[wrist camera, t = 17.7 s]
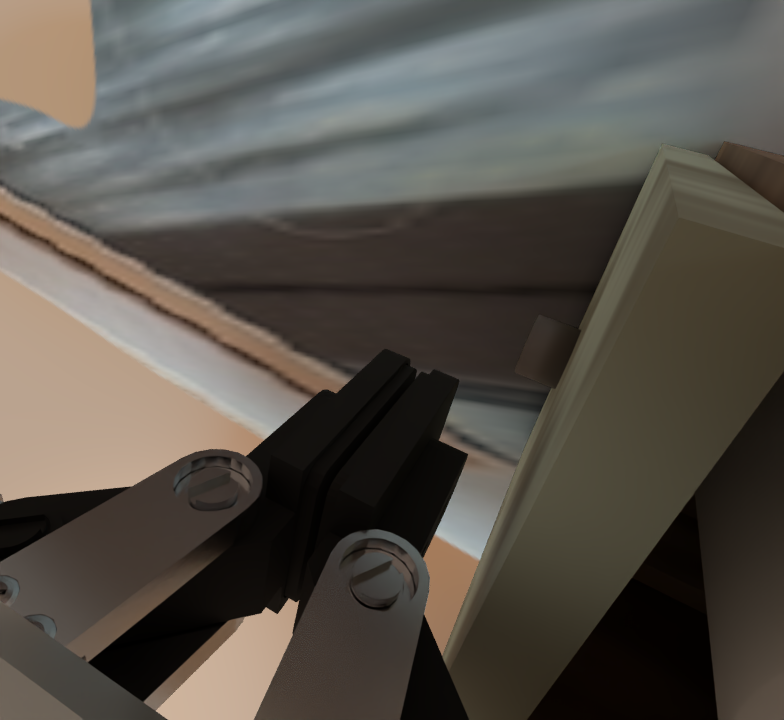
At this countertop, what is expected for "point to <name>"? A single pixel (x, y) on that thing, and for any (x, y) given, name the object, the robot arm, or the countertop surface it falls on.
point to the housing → (653, 600)
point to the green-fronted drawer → (626, 430)
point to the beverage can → (747, 565)
